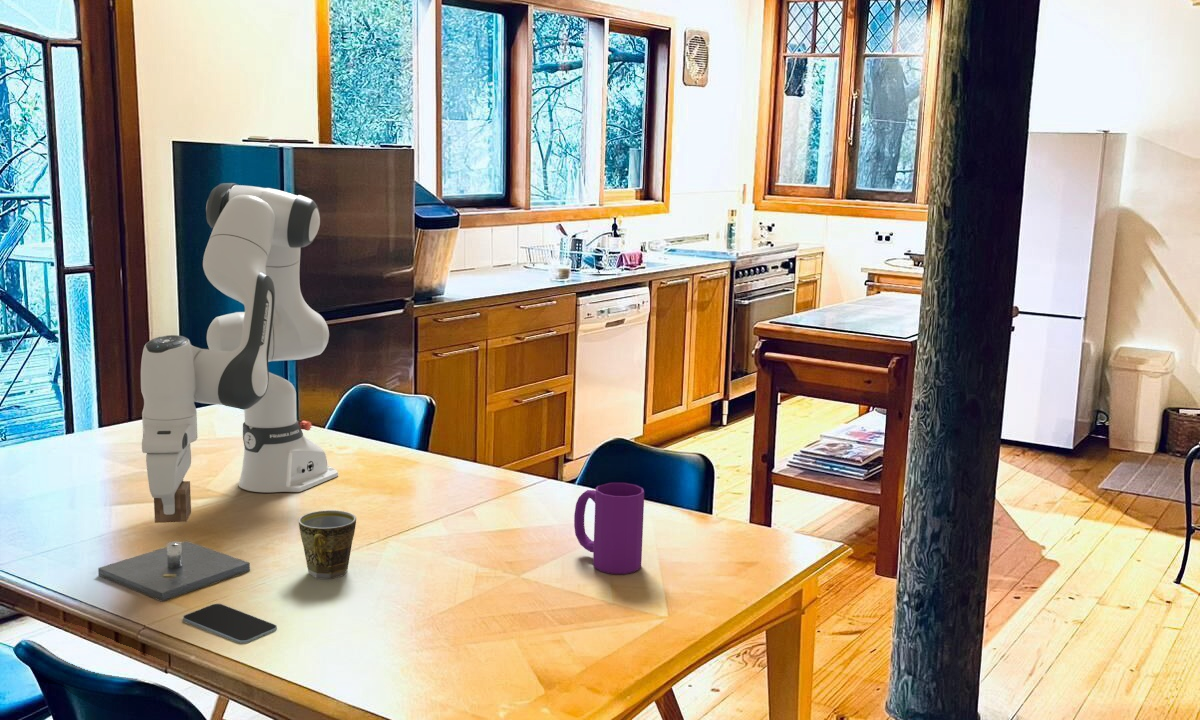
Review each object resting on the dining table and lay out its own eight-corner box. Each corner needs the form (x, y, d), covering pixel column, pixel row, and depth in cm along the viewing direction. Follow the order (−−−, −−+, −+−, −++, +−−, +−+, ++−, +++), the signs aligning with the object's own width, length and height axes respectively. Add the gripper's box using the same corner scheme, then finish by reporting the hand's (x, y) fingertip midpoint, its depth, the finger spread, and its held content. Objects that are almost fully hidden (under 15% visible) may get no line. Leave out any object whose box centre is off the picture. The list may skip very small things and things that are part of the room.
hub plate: (186, 548, 215) (185, 520, 214) (249, 570, 205) (249, 541, 204) (98, 576, 201) (97, 546, 200) (162, 601, 191) (160, 570, 190)
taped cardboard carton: (191, 512, 204) (189, 479, 203) (186, 521, 199) (185, 488, 198) (160, 513, 203) (159, 480, 202) (154, 522, 198) (153, 488, 197)
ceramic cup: (308, 561, 211) (307, 509, 209) (362, 563, 211) (362, 511, 209) (287, 587, 198) (286, 532, 196) (344, 590, 198) (344, 535, 196)
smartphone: (242, 642, 176) (179, 617, 184) (242, 647, 176) (179, 622, 184) (280, 626, 182) (217, 602, 190) (280, 631, 182) (217, 607, 190)
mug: (618, 579, 207) (621, 500, 204) (557, 557, 217) (560, 480, 215) (651, 567, 214) (655, 489, 211) (590, 545, 224) (593, 471, 221)
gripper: (161, 416, 208) (164, 490, 210) (139, 446, 188) (142, 526, 190) (198, 416, 209) (200, 489, 211) (179, 445, 189) (182, 525, 192)
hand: (173, 507), depth 201 cm, fingers closed on taped cardboard carton, 5 cm apart
